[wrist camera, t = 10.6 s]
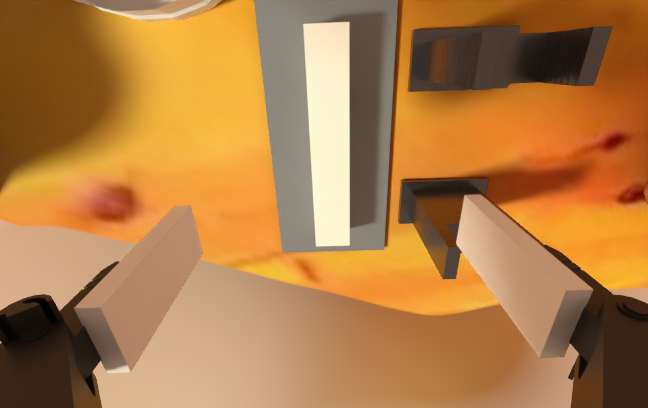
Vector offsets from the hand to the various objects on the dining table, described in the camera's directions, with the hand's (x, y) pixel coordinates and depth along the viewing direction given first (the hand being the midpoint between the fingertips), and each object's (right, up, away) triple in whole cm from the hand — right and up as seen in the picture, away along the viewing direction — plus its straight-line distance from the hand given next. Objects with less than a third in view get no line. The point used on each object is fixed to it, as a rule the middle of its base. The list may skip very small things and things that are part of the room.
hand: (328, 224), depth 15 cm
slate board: (0, +7, +16) cm, 18 cm away
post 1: (+12, +14, +13) cm, 23 cm away
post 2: (+13, +1, +19) cm, 23 cm away
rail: (0, +7, +16) cm, 17 cm away
